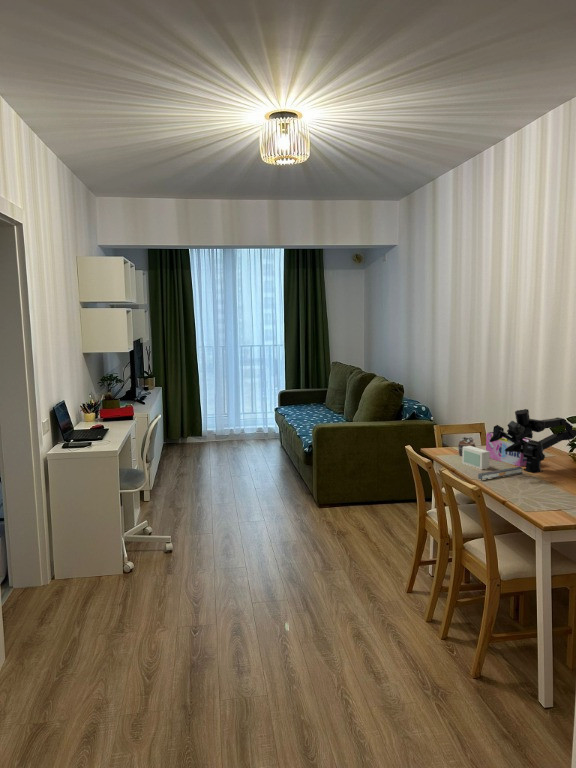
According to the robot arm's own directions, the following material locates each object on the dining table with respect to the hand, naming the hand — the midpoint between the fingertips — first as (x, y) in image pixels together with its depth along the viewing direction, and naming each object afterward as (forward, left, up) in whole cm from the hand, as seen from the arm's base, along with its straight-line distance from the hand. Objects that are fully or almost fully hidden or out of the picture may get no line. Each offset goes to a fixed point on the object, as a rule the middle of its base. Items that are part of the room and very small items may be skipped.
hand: (497, 445), depth 287 cm
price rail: (-3, 0, -16) cm, 16 cm away
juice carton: (-6, -20, -16) cm, 27 cm away
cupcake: (-17, -38, -16) cm, 45 cm away
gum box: (-28, -21, -16) cm, 38 cm away
